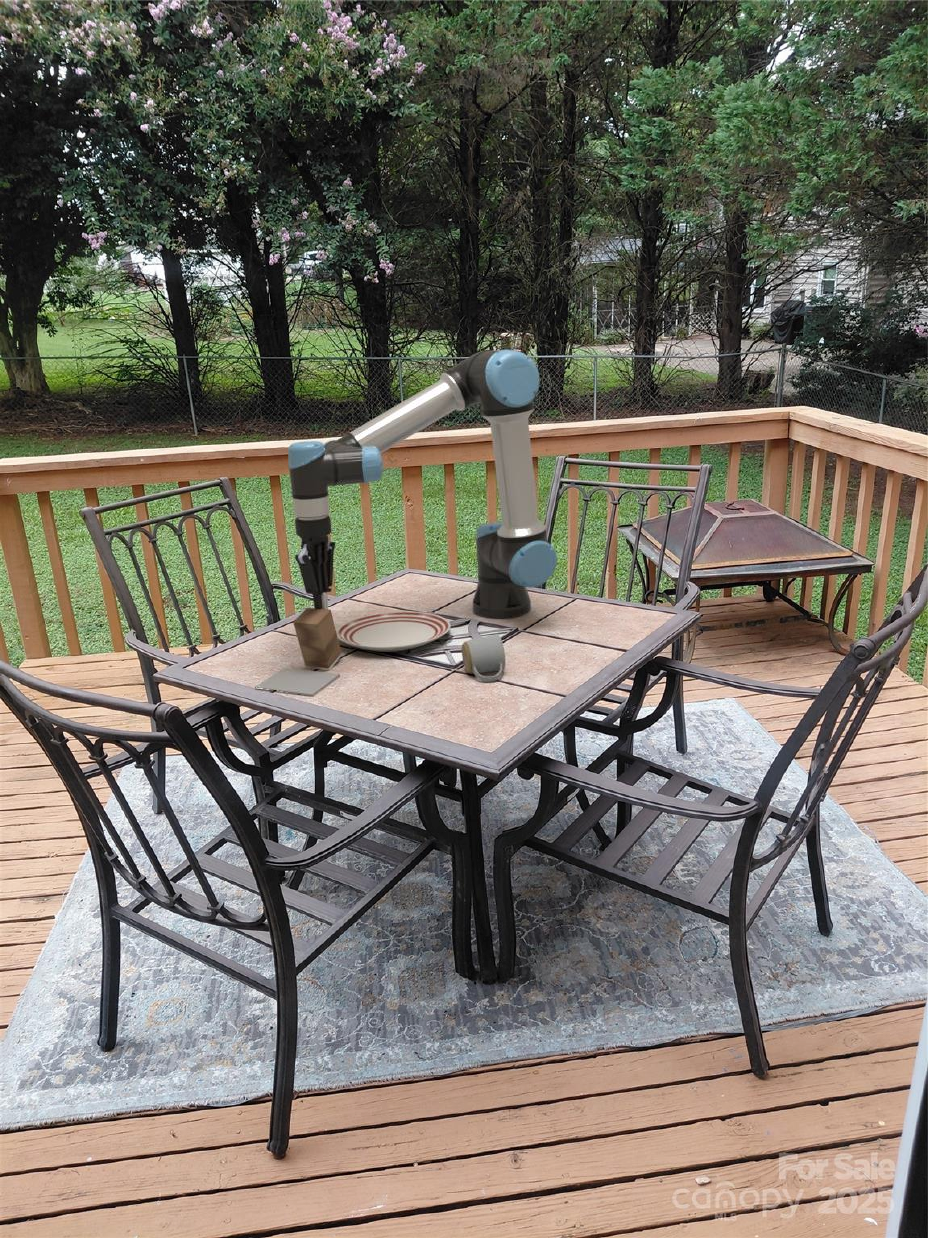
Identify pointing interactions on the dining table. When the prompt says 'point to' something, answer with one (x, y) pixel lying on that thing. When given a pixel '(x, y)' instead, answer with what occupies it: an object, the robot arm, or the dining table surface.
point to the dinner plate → (393, 630)
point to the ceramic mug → (484, 656)
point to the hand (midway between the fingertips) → (322, 621)
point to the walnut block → (317, 638)
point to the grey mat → (298, 681)
